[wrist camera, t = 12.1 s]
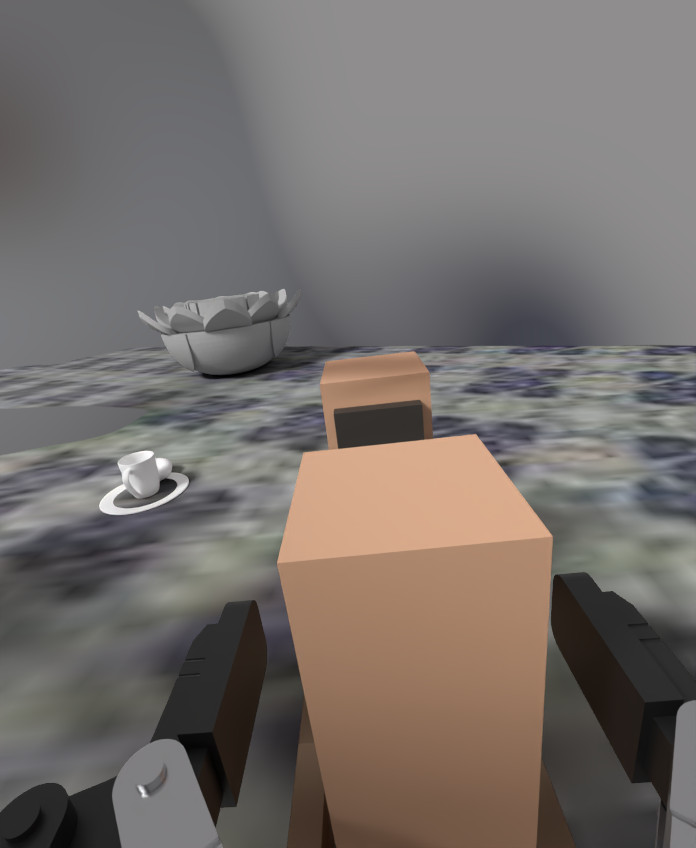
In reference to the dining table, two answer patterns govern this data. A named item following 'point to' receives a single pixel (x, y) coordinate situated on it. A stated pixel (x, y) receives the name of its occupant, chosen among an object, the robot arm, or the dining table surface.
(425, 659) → the tall tan pillar block
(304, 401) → the dining table surface
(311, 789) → the rail
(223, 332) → the decorative bowl
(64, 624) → the dining table surface
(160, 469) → the teacup and saucer
